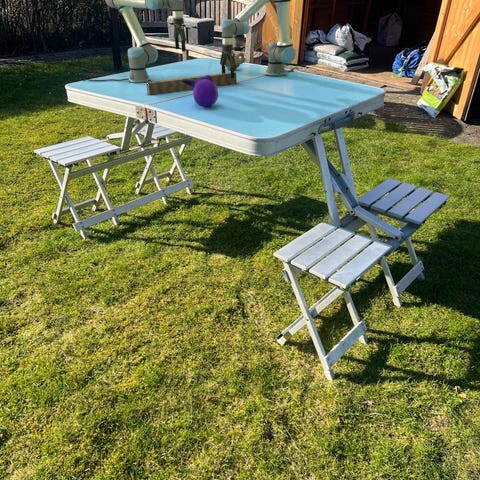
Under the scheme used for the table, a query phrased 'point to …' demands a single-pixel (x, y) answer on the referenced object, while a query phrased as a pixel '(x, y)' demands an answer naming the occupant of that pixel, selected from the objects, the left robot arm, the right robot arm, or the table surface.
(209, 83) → the toy
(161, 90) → the bar
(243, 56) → the teapot
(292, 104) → the table surface
